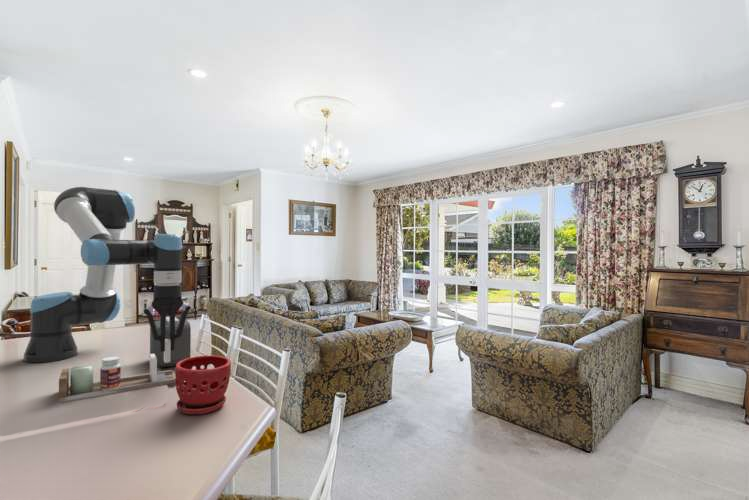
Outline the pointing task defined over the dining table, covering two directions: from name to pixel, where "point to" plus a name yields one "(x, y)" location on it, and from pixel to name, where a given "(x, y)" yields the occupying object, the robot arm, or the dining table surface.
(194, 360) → the plant pot
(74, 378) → the pale green rounded block
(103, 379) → the pill bottle
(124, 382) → the tray
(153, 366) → the paddle
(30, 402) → the dining table surface
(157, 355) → the alarm clock
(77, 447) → the dining table surface
